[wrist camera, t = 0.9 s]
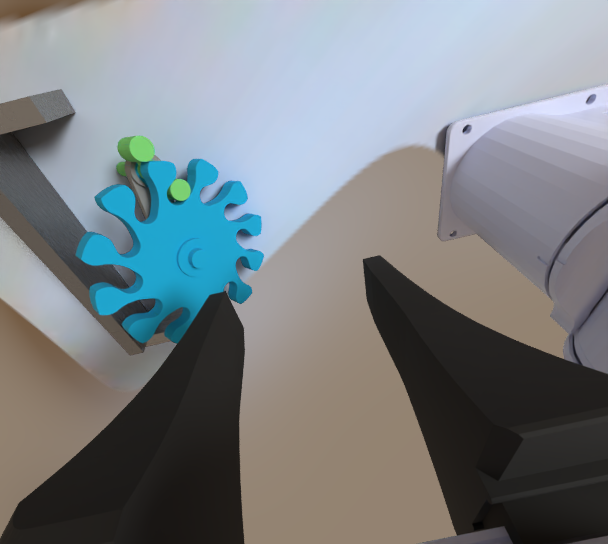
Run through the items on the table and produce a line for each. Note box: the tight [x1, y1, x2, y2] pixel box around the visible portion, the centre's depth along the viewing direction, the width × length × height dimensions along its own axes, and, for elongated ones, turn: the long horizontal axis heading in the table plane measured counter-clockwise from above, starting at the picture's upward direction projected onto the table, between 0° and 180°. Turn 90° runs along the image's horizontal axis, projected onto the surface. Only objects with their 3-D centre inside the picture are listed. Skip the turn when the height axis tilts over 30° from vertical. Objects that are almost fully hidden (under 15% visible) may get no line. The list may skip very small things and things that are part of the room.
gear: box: [76, 136, 264, 343], centre depth 17 cm, size 11×6×10 cm
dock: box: [0, 89, 183, 355], centre depth 18 cm, size 4×16×3 cm, turn 12°
